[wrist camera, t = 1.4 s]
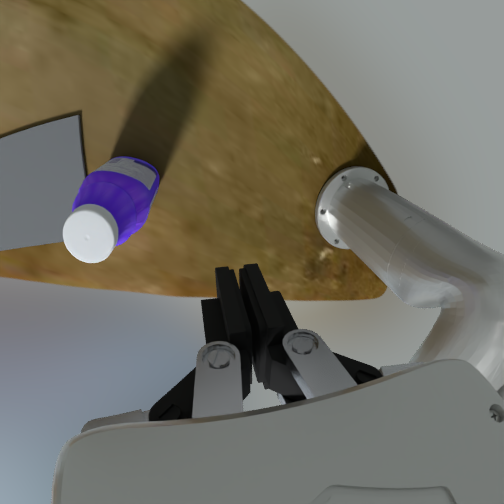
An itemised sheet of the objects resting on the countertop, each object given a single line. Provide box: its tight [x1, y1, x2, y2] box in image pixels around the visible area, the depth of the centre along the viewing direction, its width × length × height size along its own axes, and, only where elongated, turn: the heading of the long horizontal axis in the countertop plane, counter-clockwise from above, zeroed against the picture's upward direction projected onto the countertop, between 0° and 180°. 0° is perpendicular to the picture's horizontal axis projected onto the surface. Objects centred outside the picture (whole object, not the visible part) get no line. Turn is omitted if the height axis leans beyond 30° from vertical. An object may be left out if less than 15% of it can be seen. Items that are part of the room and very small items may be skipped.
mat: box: [0, 115, 86, 251], centre depth 29 cm, size 20×16×1 cm
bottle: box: [63, 156, 159, 263], centre depth 25 cm, size 7×6×17 cm
